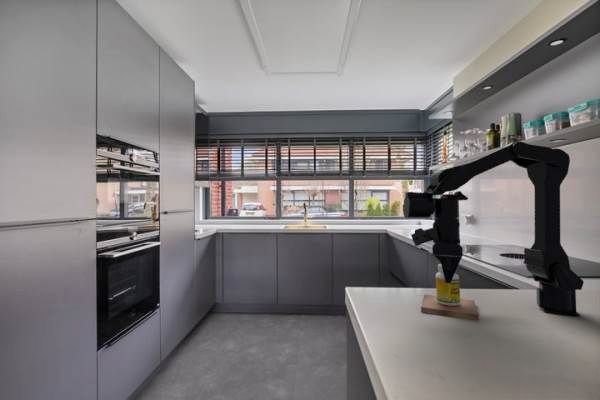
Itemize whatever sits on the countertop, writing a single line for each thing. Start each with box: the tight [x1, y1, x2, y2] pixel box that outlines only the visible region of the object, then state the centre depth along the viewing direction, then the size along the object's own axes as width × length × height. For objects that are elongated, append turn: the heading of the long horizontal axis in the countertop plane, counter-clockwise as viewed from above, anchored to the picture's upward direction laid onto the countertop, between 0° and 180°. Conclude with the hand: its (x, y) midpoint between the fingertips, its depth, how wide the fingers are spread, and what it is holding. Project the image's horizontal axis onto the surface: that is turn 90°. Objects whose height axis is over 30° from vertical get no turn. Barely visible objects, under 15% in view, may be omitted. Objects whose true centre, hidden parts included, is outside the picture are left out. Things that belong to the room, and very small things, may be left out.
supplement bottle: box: [435, 263, 461, 306], centre depth 73 cm, size 5×5×10 cm
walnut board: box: [420, 294, 479, 321], centre depth 73 cm, size 12×12×1 cm
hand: (448, 279), depth 73 cm, fingers open, 7 cm apart
